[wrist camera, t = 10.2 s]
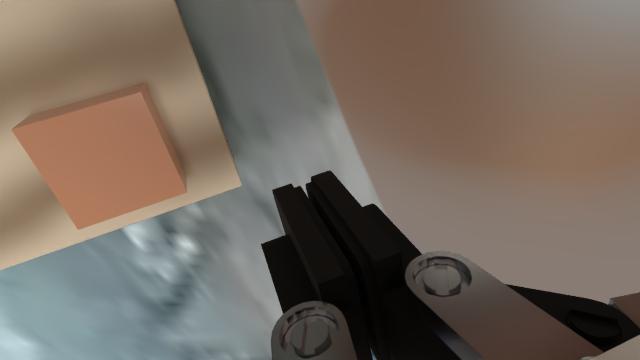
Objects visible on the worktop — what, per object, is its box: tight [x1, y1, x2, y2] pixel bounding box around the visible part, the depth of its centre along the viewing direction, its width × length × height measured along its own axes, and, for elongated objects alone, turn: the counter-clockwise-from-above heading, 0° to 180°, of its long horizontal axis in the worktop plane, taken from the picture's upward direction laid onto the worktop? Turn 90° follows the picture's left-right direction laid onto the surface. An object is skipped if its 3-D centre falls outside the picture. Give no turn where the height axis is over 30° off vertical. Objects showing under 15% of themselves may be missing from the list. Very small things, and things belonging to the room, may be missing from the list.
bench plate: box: [0, 0, 242, 270], centre depth 21 cm, size 20×16×5 cm
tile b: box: [11, 82, 187, 230], centre depth 21 cm, size 6×6×2 cm
